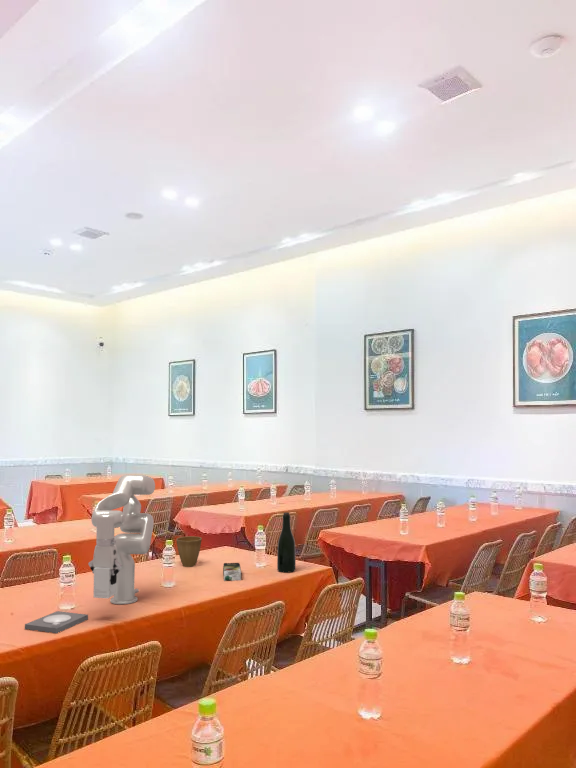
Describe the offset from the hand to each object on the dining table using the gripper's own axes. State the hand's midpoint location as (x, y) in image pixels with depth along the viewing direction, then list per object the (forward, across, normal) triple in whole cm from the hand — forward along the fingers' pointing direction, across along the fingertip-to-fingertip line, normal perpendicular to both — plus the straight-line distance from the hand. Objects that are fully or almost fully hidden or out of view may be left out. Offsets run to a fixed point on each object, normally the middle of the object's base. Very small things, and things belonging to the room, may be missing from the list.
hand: (105, 582), depth 282 cm
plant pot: (+18, +16, -105) cm, 108 cm away
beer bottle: (+18, -43, -112) cm, 121 cm away
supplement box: (+6, 0, 0) cm, 6 cm away
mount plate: (+15, +14, +14) cm, 25 cm away
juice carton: (+18, -20, -89) cm, 93 cm away
